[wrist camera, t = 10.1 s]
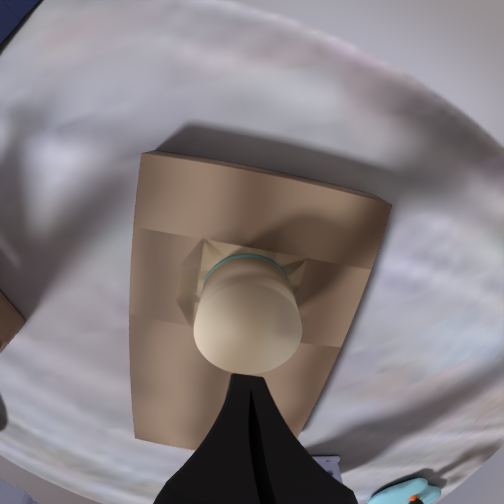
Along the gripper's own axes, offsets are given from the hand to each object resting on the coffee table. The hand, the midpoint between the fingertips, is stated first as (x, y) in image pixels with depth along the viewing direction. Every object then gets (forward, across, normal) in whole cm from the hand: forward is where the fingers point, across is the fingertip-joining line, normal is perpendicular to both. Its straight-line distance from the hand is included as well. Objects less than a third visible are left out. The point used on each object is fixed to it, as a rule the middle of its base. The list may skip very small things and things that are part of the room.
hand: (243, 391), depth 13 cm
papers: (+10, +36, -16) cm, 41 cm away
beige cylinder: (+9, 0, -1) cm, 9 cm away
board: (+9, 0, +4) cm, 10 cm away
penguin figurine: (+10, -34, +35) cm, 50 cm away
